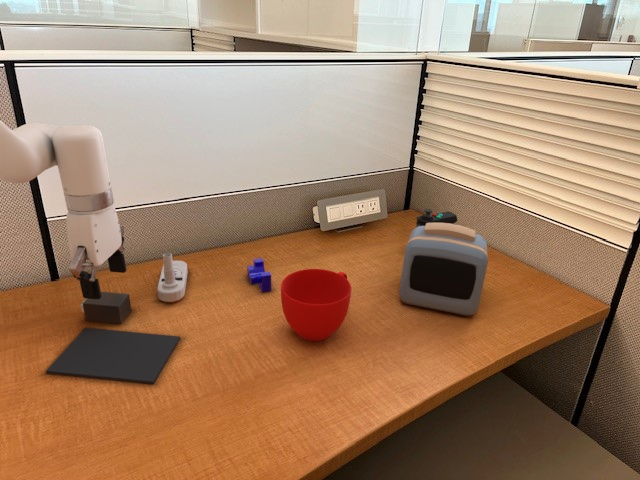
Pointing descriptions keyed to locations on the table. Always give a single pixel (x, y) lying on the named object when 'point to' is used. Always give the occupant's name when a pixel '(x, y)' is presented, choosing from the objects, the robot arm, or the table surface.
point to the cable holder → (259, 275)
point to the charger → (107, 308)
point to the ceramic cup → (315, 302)
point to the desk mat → (115, 356)
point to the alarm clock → (444, 268)
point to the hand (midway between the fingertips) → (106, 284)
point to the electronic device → (172, 279)
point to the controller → (436, 218)
